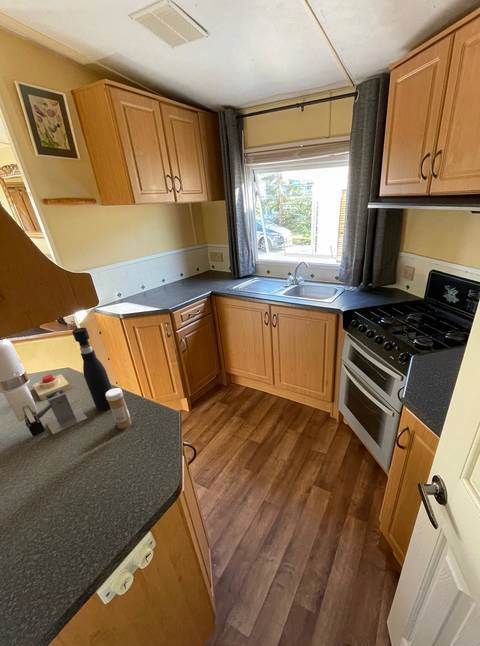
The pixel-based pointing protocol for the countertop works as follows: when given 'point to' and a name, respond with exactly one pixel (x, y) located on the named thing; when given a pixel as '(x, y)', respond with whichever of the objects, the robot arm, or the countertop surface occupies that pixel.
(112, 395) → the sprinkles bottle
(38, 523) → the countertop surface
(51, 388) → the control block
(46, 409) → the lever handle
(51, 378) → the button
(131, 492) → the countertop surface
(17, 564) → the countertop surface
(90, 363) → the dark water bottle
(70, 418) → the grey lever stand
